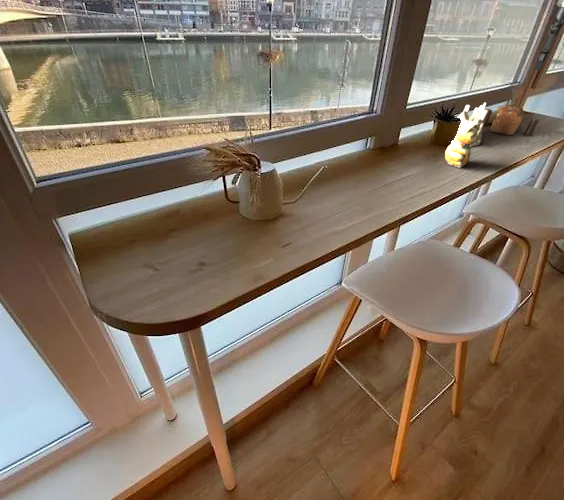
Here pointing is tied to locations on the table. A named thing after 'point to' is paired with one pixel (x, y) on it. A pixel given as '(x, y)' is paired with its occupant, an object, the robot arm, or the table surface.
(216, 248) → the table surface
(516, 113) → the bread
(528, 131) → the dark brown pieces
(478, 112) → the white pronged sculpture
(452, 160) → the decorative figurine
